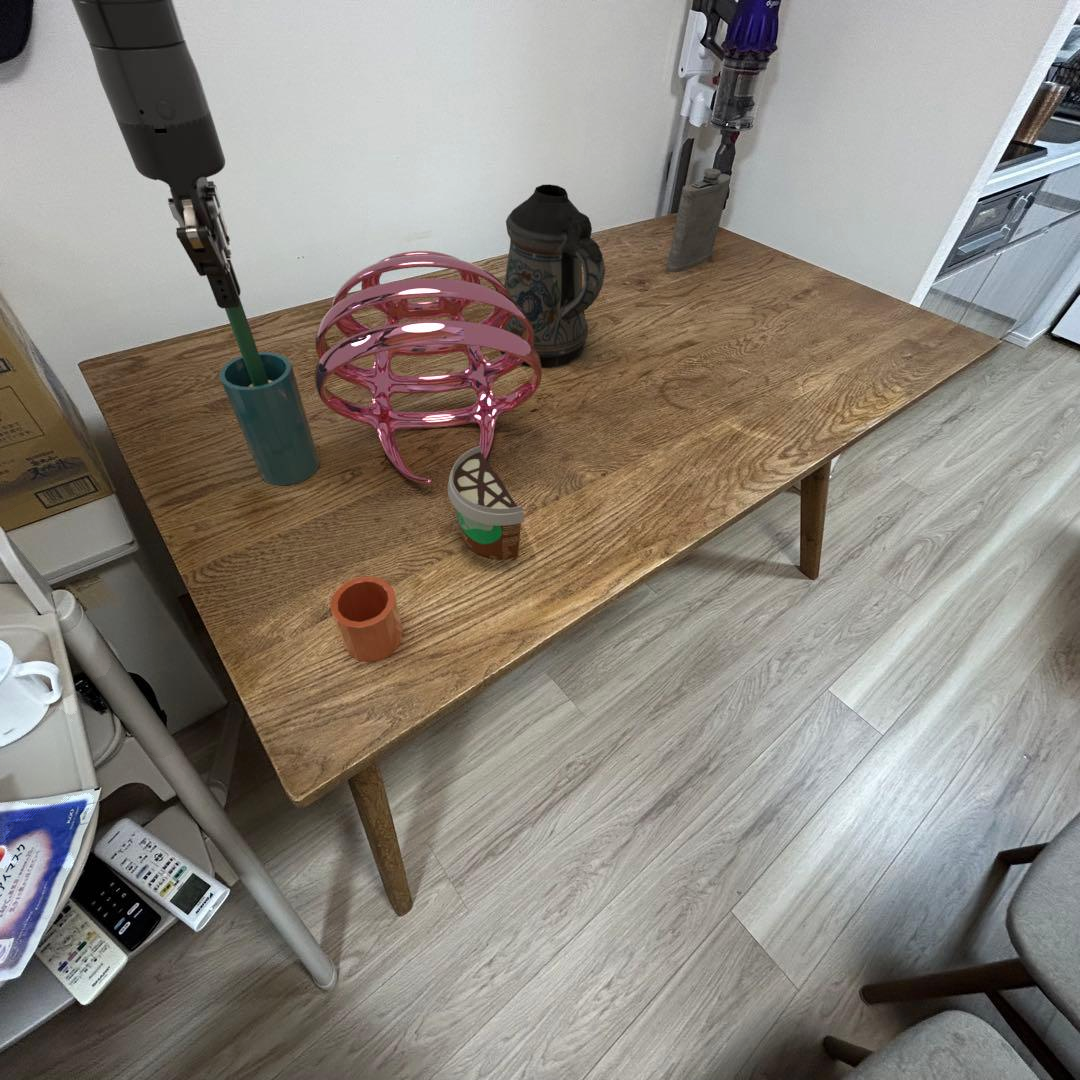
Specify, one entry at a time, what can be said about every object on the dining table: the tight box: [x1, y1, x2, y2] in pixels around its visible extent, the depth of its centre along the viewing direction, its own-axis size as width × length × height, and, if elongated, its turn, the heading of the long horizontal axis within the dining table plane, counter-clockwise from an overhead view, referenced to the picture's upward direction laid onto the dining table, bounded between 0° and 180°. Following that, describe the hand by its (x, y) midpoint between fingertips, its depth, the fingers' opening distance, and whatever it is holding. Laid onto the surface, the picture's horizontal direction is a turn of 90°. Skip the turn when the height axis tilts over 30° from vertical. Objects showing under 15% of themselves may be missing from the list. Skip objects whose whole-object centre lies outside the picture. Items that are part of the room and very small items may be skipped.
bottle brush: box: [224, 271, 273, 387], centre depth 69 cm, size 3×3×22 cm
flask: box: [666, 167, 732, 273], centre depth 124 cm, size 4×14×18 cm, turn 134°
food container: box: [447, 445, 525, 560], centre depth 71 cm, size 12×6×10 cm, turn 27°
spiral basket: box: [314, 250, 543, 486], centre depth 76 cm, size 28×28×27 cm
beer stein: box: [499, 184, 606, 369], centre depth 96 cm, size 16×19×25 cm
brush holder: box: [330, 575, 404, 663], centre depth 62 cm, size 6×6×7 cm
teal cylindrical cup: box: [218, 351, 321, 486], centre depth 77 cm, size 8×8×15 cm
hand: (230, 300), depth 65 cm, fingers closed on bottle brush, 2 cm apart
